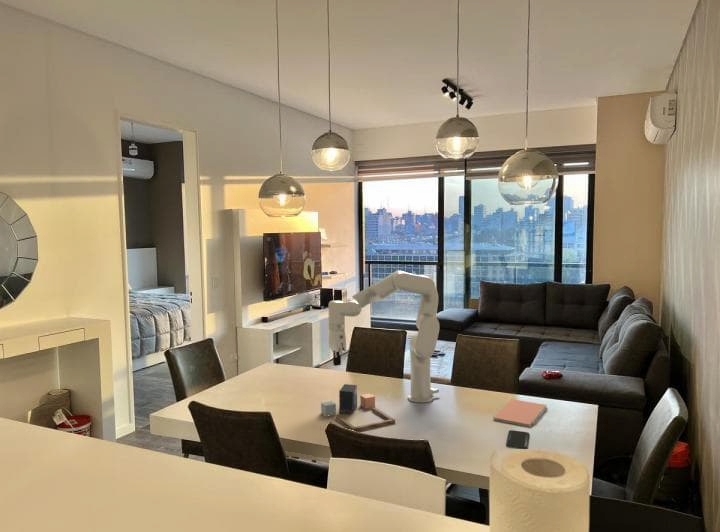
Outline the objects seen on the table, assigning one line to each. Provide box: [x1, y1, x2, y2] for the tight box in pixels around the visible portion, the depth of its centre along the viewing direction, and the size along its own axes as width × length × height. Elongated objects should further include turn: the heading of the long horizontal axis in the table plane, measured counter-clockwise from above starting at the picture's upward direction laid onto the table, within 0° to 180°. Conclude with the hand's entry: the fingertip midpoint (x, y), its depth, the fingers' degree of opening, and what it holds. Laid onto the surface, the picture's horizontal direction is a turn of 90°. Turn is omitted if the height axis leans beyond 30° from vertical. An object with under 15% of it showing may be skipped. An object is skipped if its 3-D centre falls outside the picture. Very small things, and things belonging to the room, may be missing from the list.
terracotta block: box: [359, 393, 376, 409], centre depth 242 cm, size 5×5×5 cm
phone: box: [505, 429, 530, 450], centre depth 201 cm, size 8×1×15 cm
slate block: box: [320, 400, 337, 417], centre depth 233 cm, size 5×5×5 cm
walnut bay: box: [334, 407, 396, 432], centre depth 224 cm, size 20×18×2 cm
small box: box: [338, 383, 358, 415], centre depth 237 cm, size 11×6×10 cm, turn 168°
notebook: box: [492, 399, 548, 428], centre depth 229 cm, size 27×17×2 cm, turn 147°
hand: (337, 364), depth 246 cm, fingers closed
